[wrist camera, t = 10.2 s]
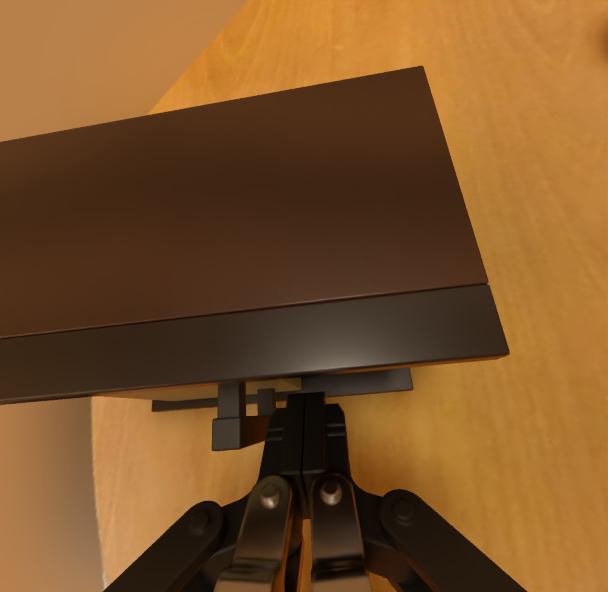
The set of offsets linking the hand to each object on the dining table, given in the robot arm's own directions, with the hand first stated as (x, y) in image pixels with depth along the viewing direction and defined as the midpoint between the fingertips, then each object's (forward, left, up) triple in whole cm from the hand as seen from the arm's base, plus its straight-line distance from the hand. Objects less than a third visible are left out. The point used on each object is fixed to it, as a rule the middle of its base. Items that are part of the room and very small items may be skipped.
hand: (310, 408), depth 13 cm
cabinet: (-3, +6, -6) cm, 10 cm away
